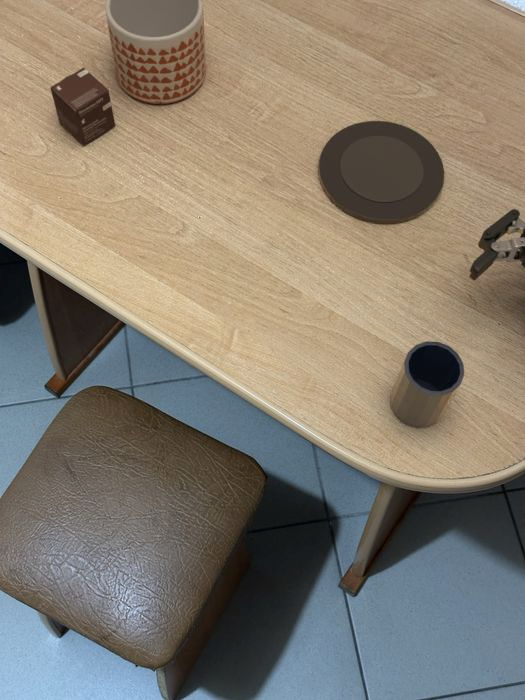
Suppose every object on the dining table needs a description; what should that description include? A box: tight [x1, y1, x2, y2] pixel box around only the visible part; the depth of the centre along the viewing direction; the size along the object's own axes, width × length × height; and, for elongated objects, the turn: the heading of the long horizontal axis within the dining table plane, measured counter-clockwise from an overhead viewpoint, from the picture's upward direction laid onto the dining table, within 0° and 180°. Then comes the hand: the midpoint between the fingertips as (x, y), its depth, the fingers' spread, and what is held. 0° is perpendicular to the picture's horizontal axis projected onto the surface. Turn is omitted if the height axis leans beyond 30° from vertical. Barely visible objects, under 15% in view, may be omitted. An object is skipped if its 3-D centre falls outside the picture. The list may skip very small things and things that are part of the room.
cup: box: [389, 340, 465, 429], centre depth 100 cm, size 7×7×10 cm
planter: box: [104, 0, 207, 105], centre depth 123 cm, size 14×14×13 cm
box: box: [50, 67, 116, 146], centre depth 120 cm, size 6×6×7 cm
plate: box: [318, 120, 445, 225], centre depth 120 cm, size 18×18×1 cm
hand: (501, 298), depth 97 cm, fingers open, 8 cm apart
